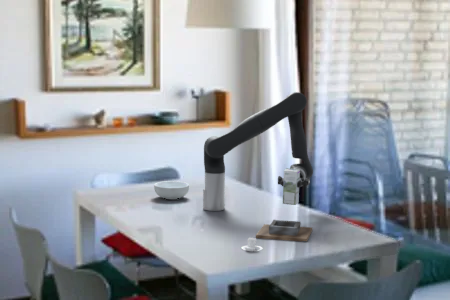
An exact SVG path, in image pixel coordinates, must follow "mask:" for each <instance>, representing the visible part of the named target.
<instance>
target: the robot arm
mask: <svg viewBox="0 0 450 300" xmlns="http://www.w3.org/2000/svg"><path fill="white" fill-rule="evenodd" d="M307 100H308V99H307V97H306V95H304V94H303V93H302V92H298V91H297V92H296V91H294V92H291V93H289V94H288V95H286V97H285V98H284V99H282V100H281V101H279V102H278V103H277V104H274V105H272V106H270V107H267V108H265V109H261V110H260V111H258V112H256V113H254V114H252V115H251V116H249V117H247V118H245V119H244V120H242V121H241V122H240V123H239V124H238V125H237V126H235V127H234V129H232V130H230V131H229V132H227V133H225V134H223V135H221V136H210V137H208V138H207V139H206V140H205V142H204V146H203V167H204V188H203V190H202V191H203V195H202V196H203V197H202V203H203V204H202V207H203V208H202V209H203V210H205V211H210V212H220V211H224V210H225V206H226V204H225V202H226V199H225V198H226V197H225V195H226V191H225V190H226V189H225V188H226V166H225V159H224V158H225V155H227V154H228V153H229V152H230V151H232V150H234V149H235V148H236V147H238V146H240V145H241V144H244V143H246V142H248V141H250V140H252V139H254V138H255V137H258V136H259V135H261V134H262V133H265V132H266V131H268V130H269V129H272V128H273V126H275V125H277V124H278V123H279V122H280V121H283V120H284V119H286V118H287V120H288V121H287V122H288V125H289V134H290V135H289V136H290V137H289V138H290V147H291V155H292V158H293V159H299V160H302V161H303V162H300V163H293V164H291V165H290V167H289V169H300V178H299V181H298V184H297V187H299V188H301V187H308V186H309V185H311V184H310V183H311V181H310V179H311V178H312V176H313V174H314V169H313V166H312V164H311V161H310V158H309V154H308V148H307V147H308V146H307V139H306V138H307V137H306V133H305V129H304V127H303V126H304V125H303V110H305V108H306V106H307V103H308V101H307ZM283 181H284V177H282V176H281V175H279V176H277V185H280V186H281V187H283Z"/></svg>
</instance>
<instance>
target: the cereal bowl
mask: <svg viewBox="0 0 450 300" xmlns="http://www.w3.org/2000/svg"><path fill="white" fill-rule="evenodd" d="M153 186H154V187H153V188H154V192H155V194H156V195H157V196H158V197H160V198H162V199H164V198H166V199H177V198H179V199H181V198H184V196H186V195H187V194H188V193H189V189H190V184H189V183H187V182H186V181H185V182H184V181H178V180H165V181H159V182H156V183H154V184H153ZM166 199H165V200H166ZM177 200H178V199H177Z"/></svg>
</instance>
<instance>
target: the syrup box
mask: <svg viewBox="0 0 450 300" xmlns="http://www.w3.org/2000/svg"><path fill="white" fill-rule="evenodd" d="M283 178H284V181H283V186H282V205H290V206H292V205H293V206H296V205H298V204H299V202H300V201H299V197H300V195H299V193H300V187H297V184H298V181H299V178H300V169H290V167H289V168H287V167H286V168H285V169H284V170H283Z"/></svg>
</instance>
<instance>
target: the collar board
mask: <svg viewBox="0 0 450 300" xmlns="http://www.w3.org/2000/svg"><path fill="white" fill-rule="evenodd" d="M312 232H313V227H307V226H302V225H301V221H297V220H296V221H295V220H284V219H283V220H281V219H273V220H272V221H271V223H270V224H267V223H266V224H265V223H264V224H263V225H262V226H261V227H260V229H259V230H258V232H257V233H256V234H255V238H256V239H264V240H275V241H276V240H280V241H290V242H302V241H307V240H309V238H310V236H311V235H312ZM307 242H308V241H307Z"/></svg>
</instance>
